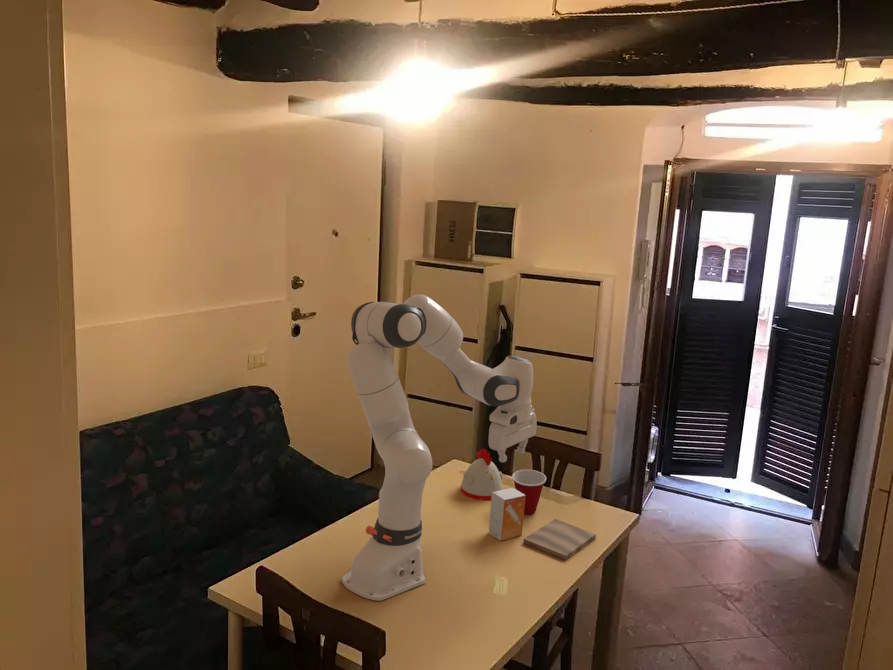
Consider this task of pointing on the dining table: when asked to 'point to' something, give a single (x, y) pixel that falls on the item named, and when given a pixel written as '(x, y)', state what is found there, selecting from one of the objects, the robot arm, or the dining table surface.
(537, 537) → the walnut board
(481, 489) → the kitchen timer
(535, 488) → the plastic cup
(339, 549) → the dining table surface
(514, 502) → the small box
